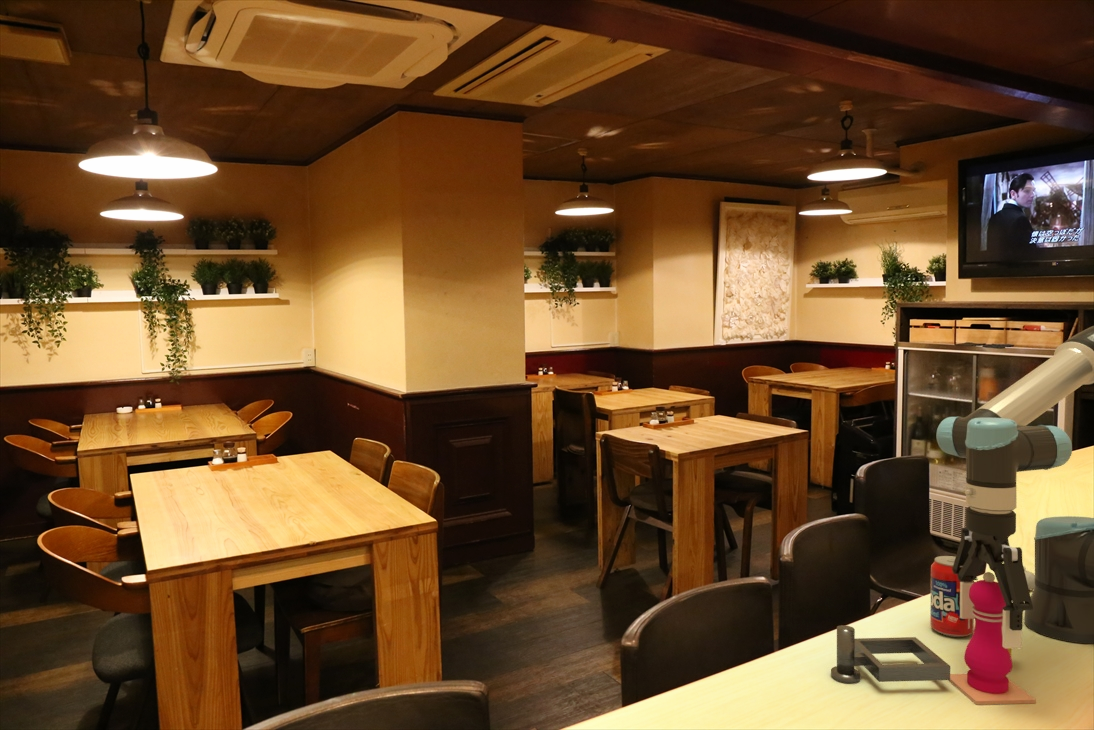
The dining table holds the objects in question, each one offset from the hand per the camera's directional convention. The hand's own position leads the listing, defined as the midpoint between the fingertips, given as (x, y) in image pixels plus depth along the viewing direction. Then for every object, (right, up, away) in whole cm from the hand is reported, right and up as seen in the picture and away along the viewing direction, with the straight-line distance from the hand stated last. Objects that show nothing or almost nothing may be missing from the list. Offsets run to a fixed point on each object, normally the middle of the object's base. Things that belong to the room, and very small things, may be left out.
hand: (989, 632), depth 134 cm
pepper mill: (0, -10, +1) cm, 10 cm away
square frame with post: (-16, -10, +6) cm, 20 cm away
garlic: (+37, -7, +50) cm, 62 cm away
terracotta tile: (0, -10, +1) cm, 10 cm away
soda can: (+7, -9, +26) cm, 28 cm away
